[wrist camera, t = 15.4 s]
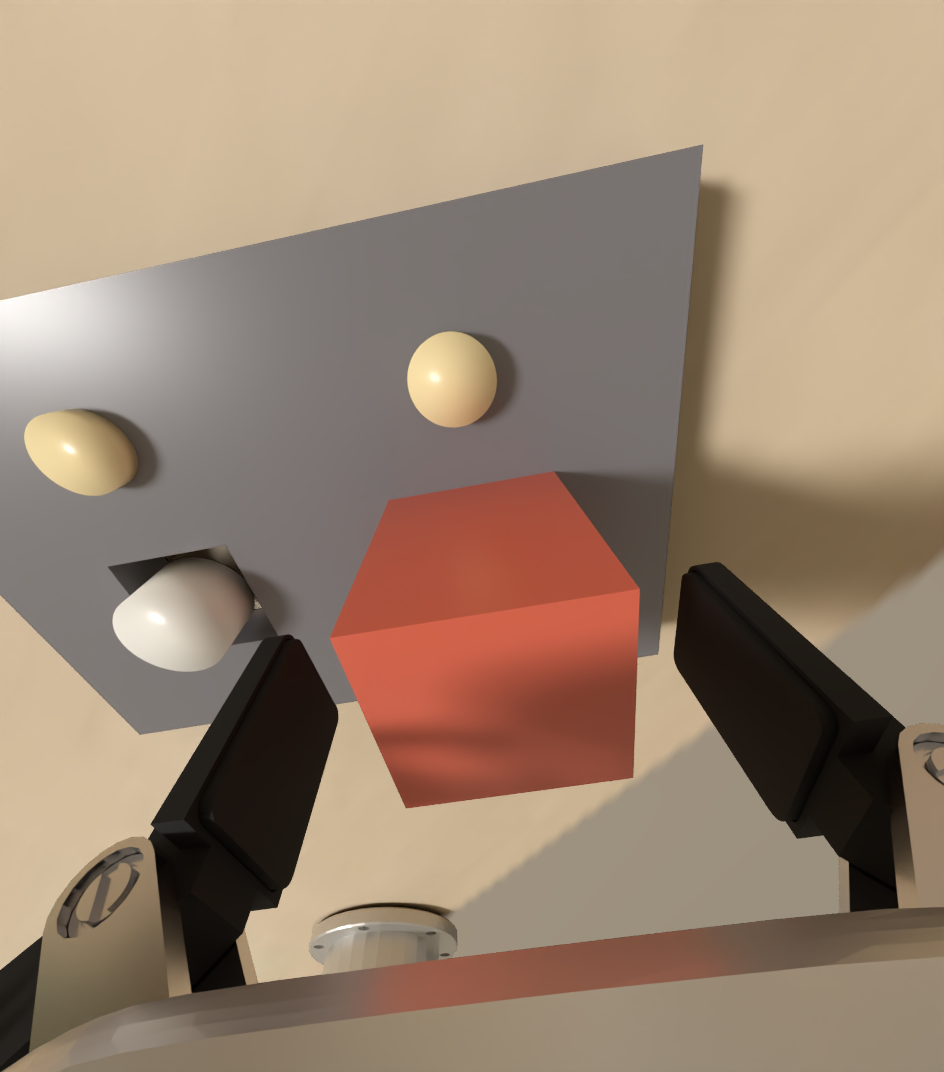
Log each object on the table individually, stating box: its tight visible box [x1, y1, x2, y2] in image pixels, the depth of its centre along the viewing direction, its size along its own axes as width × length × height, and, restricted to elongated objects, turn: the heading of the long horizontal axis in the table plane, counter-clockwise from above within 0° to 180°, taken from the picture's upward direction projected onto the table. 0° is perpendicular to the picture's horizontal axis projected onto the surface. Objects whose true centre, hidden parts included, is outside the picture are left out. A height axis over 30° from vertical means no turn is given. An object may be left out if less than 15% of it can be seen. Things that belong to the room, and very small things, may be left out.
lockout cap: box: [330, 471, 640, 808], centre depth 10 cm, size 5×5×6 cm
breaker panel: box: [0, 145, 703, 735], centre depth 13 cm, size 15×22×3 cm
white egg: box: [113, 557, 255, 672], centre depth 13 cm, size 3×3×2 cm
